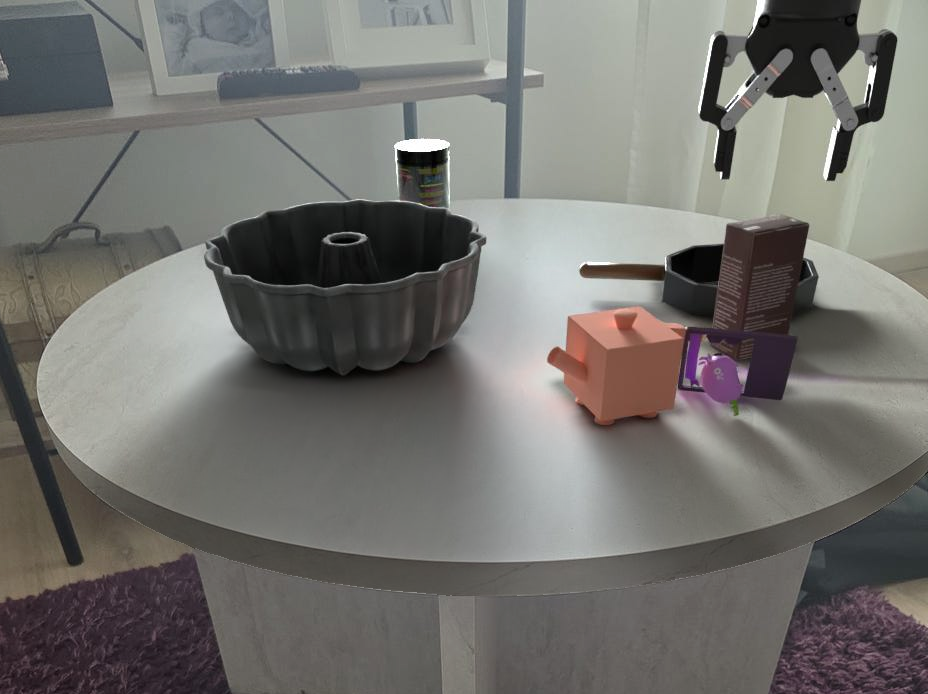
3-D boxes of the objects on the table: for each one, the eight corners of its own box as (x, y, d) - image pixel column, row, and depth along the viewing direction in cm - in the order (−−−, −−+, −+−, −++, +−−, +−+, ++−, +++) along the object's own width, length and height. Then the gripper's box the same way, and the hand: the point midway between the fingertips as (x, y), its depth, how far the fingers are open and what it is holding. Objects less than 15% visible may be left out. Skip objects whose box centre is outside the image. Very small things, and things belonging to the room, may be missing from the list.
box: (754, 342, 89) (780, 211, 82) (784, 359, 86) (814, 224, 79) (703, 353, 88) (724, 220, 80) (732, 370, 84) (757, 233, 77)
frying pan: (798, 282, 102) (806, 244, 100) (816, 335, 90) (826, 294, 88) (581, 274, 106) (584, 238, 103) (572, 324, 94) (574, 285, 91)
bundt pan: (412, 418, 78) (406, 301, 72) (166, 370, 87) (141, 262, 81) (523, 314, 97) (526, 213, 90) (310, 283, 105) (300, 190, 99)
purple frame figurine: (799, 329, 74) (686, 320, 76) (794, 373, 72) (678, 363, 74) (783, 391, 80) (678, 381, 82) (778, 434, 77) (670, 422, 80)
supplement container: (461, 232, 120) (460, 143, 113) (424, 244, 116) (421, 153, 109) (425, 223, 123) (422, 136, 117) (388, 234, 120) (383, 145, 113)
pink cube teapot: (528, 399, 81) (532, 306, 75) (651, 380, 83) (663, 288, 78) (563, 438, 75) (569, 340, 70) (694, 416, 77) (709, 320, 72)
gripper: (722, -57, 65) (691, 189, 76) (934, -63, 63) (872, 191, 73) (718, -62, 71) (689, 167, 81) (912, -68, 69) (857, 168, 79)
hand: (776, 178), depth 77 cm, fingers open, 8 cm apart
